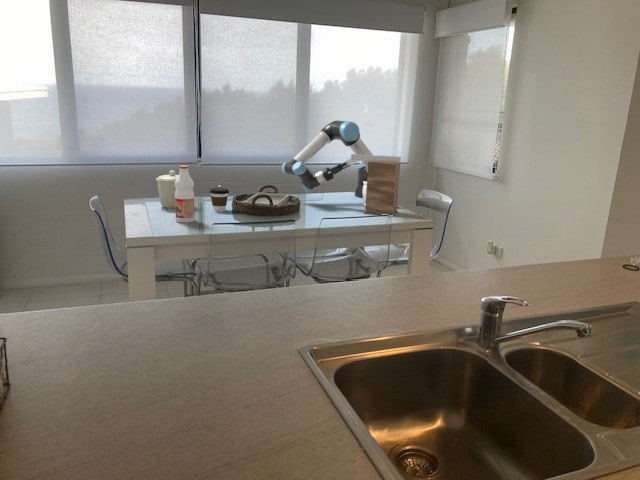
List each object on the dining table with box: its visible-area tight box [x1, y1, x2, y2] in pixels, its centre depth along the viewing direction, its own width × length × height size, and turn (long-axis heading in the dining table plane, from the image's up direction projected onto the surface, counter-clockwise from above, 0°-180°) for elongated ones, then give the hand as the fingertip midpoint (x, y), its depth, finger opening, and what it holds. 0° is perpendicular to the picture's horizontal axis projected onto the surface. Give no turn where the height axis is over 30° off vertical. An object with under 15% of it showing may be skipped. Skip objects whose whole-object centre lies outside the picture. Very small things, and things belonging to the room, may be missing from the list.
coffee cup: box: [208, 187, 230, 213], centre depth 298 cm, size 11×11×12 cm
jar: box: [362, 181, 367, 207], centre depth 331 cm, size 11×10×15 cm
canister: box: [155, 169, 179, 210], centre depth 301 cm, size 18×18×21 cm
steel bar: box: [350, 153, 402, 164], centre depth 304 cm, size 4×28×3 cm, turn 83°
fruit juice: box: [175, 164, 196, 224], centre depth 267 cm, size 9×9×28 cm
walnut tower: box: [363, 161, 402, 216], centre depth 307 cm, size 13×17×30 cm
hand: (355, 159), depth 308 cm, fingers open, 13 cm apart
